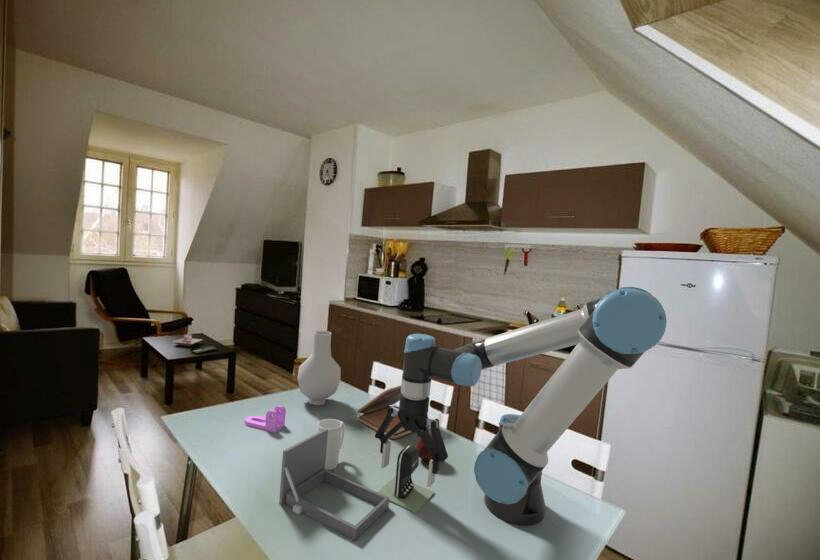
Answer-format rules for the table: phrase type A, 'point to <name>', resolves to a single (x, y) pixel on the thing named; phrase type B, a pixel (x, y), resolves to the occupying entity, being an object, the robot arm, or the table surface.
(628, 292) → the robot arm
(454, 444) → the table surface
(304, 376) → the vase
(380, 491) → the mat
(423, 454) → the apple
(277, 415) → the bracket
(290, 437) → the table surface
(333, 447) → the mug
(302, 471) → the case
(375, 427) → the case
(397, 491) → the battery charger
